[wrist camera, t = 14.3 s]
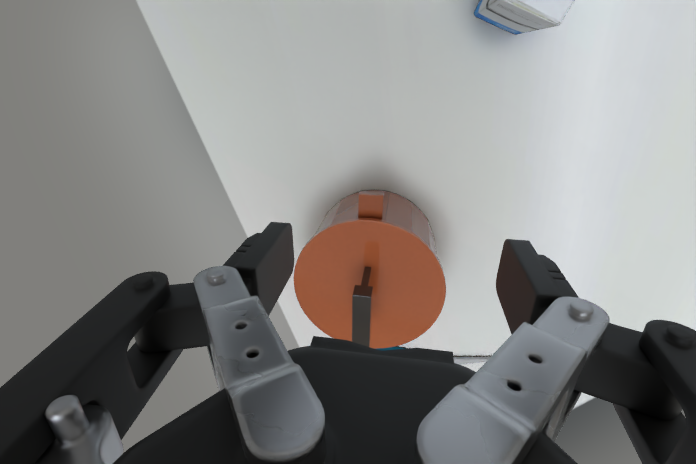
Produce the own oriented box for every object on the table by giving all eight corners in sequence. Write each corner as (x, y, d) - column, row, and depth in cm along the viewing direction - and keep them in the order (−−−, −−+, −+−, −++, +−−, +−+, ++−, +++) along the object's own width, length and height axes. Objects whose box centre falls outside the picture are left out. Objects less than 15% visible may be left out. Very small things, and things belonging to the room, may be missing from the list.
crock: (322, 301, 53) (304, 351, 44) (318, 165, 45) (294, 192, 36) (425, 311, 51) (428, 366, 42) (442, 171, 43) (450, 202, 34)
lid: (300, 333, 44) (283, 376, 38) (292, 210, 37) (270, 239, 31) (436, 348, 42) (440, 396, 36) (454, 220, 35) (462, 253, 29)
